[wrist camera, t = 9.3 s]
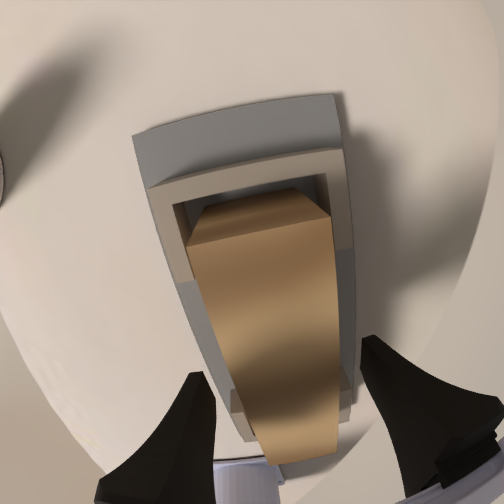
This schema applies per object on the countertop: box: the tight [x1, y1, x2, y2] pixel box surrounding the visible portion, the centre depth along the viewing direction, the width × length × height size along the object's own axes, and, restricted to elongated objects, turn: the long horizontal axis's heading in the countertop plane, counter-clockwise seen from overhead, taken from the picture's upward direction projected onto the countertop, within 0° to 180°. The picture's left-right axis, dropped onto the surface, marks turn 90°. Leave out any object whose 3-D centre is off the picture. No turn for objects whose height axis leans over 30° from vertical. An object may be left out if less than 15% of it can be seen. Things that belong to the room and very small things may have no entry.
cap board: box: [132, 94, 356, 442], centre depth 14 cm, size 22×9×3 cm, turn 11°
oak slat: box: [186, 187, 340, 466], centre depth 12 cm, size 14×4×5 cm, turn 12°
